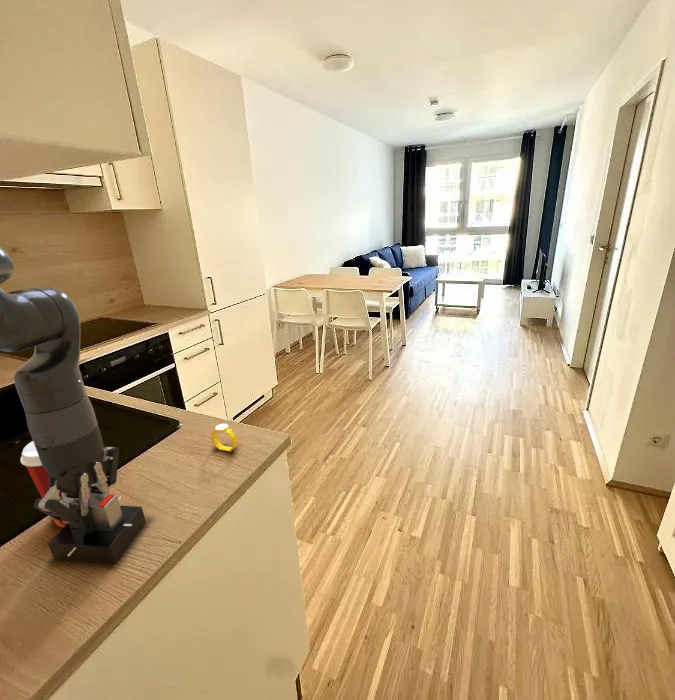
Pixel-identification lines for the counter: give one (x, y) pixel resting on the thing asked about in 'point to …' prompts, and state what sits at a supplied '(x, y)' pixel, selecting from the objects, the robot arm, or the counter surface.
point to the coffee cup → (38, 473)
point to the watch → (225, 428)
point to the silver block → (103, 512)
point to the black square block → (98, 540)
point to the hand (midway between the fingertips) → (96, 522)
